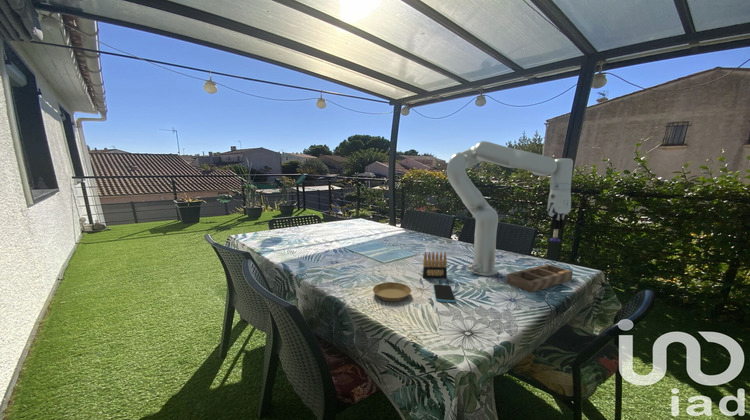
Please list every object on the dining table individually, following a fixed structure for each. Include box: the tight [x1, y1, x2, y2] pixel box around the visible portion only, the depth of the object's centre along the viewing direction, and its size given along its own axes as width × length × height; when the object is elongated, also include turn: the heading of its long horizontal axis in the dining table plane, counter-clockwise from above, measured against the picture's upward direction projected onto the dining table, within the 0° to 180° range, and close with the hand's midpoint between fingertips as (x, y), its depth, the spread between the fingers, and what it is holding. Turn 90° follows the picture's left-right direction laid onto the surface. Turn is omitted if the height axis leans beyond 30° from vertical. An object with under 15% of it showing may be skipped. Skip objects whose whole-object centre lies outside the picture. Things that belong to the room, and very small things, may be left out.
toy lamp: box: [549, 211, 564, 244], centre depth 120 cm, size 5×5×17 cm
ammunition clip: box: [422, 251, 448, 279], centre depth 123 cm, size 11×2×12 cm, turn 88°
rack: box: [506, 263, 573, 293], centre depth 119 cm, size 29×11×4 cm, turn 118°
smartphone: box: [432, 284, 456, 303], centre depth 107 cm, size 7×1×15 cm
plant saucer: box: [372, 281, 412, 303], centre depth 105 cm, size 15×15×3 cm
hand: (556, 228), depth 120 cm, fingers closed on toy lamp
